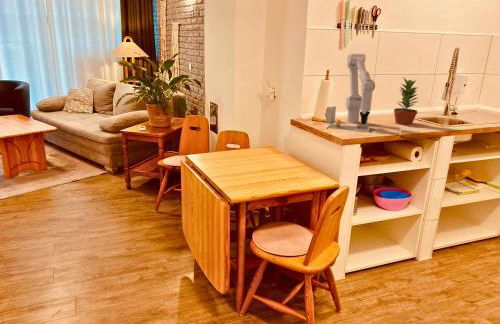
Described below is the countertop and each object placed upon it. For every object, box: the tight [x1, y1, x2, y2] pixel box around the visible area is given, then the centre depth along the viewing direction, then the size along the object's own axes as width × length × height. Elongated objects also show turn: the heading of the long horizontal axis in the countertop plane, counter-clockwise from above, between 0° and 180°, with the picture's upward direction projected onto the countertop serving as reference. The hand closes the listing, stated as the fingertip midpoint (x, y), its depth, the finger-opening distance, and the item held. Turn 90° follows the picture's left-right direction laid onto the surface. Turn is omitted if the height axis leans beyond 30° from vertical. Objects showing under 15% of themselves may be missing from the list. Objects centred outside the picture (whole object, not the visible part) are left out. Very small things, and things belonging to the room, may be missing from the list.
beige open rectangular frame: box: [354, 116, 371, 133], centre depth 231 cm, size 13×8×6 cm, turn 159°
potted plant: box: [393, 77, 420, 126], centre depth 252 cm, size 15×15×30 cm
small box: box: [324, 104, 337, 124], centre depth 255 cm, size 8×6×10 cm
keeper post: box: [335, 118, 341, 127], centre depth 237 cm, size 2×2×4 cm
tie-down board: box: [326, 123, 376, 133], centre depth 235 cm, size 12×27×1 cm, turn 67°
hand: (363, 123), depth 236 cm, fingers closed on beige open rectangular frame
